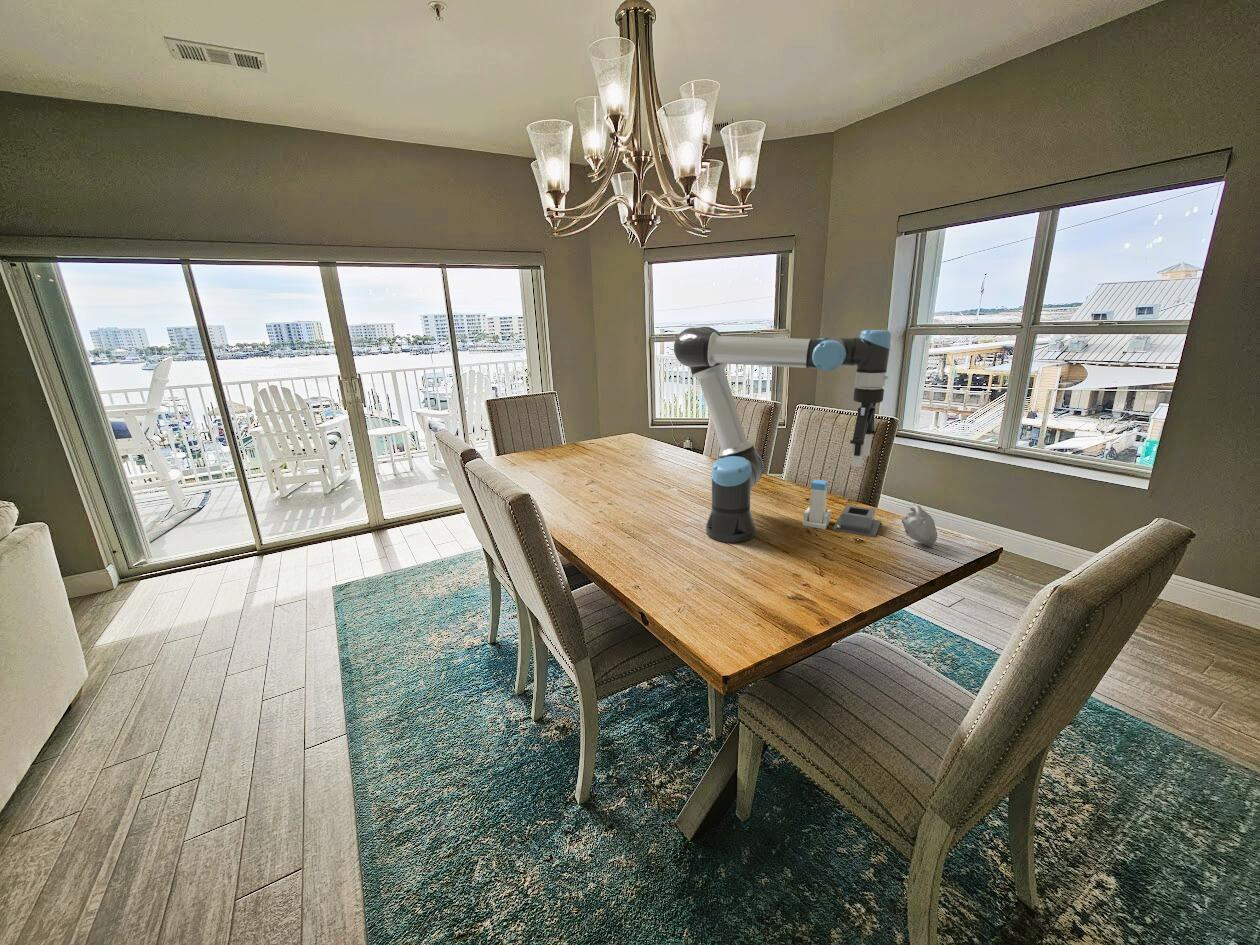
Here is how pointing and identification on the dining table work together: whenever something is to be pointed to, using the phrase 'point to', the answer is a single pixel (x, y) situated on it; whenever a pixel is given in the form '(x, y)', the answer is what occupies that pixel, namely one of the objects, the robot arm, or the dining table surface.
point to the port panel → (857, 521)
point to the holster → (822, 526)
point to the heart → (920, 526)
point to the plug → (818, 501)
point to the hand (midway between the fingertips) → (860, 460)
